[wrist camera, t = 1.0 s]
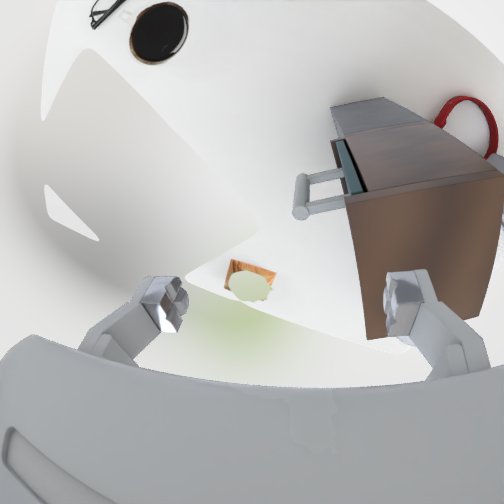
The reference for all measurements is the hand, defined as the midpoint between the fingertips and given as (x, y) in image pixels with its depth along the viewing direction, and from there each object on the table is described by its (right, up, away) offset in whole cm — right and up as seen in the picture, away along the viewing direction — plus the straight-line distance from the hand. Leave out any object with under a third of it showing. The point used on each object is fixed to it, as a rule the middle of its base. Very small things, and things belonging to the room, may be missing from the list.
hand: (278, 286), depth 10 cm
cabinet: (+19, +21, +33) cm, 44 cm away
